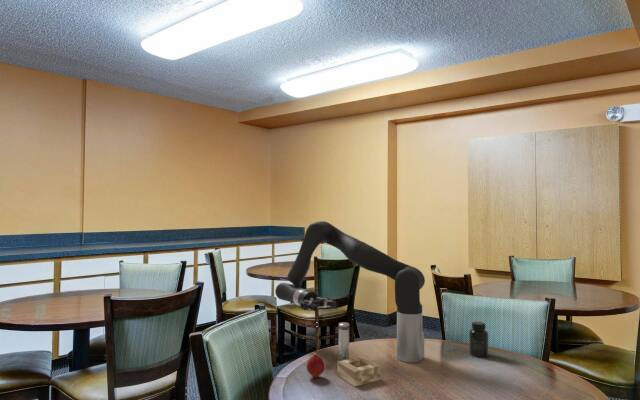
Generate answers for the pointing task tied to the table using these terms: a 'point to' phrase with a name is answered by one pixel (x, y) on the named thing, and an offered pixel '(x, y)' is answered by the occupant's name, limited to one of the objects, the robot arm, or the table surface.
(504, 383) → the table surface
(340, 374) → the square ring gauge
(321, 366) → the onion
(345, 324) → the cylinder
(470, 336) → the supplement bottle
